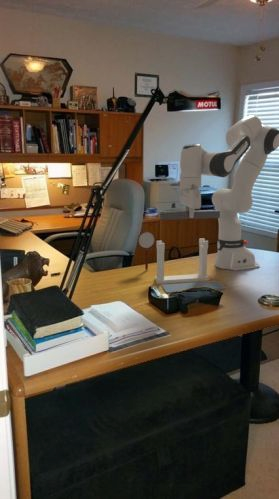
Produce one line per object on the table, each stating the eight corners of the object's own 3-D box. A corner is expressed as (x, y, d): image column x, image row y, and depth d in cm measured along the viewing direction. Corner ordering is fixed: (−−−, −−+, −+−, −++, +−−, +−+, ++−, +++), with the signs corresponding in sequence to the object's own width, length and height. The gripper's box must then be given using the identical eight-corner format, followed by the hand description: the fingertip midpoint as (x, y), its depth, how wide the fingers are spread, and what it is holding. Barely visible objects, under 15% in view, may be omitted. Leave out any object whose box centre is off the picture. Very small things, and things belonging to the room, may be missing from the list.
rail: (217, 216, 175) (217, 210, 175) (219, 217, 173) (220, 211, 172) (158, 218, 171) (158, 211, 171) (160, 219, 169) (160, 212, 168)
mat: (217, 282, 182) (217, 280, 182) (225, 289, 173) (225, 288, 173) (161, 285, 178) (161, 284, 178) (166, 293, 168) (166, 292, 168)
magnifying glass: (154, 269, 202) (154, 230, 198) (155, 270, 201) (155, 231, 196) (137, 271, 201) (137, 231, 196) (138, 271, 199) (138, 232, 194)
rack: (204, 276, 190) (205, 238, 186) (208, 280, 185) (210, 241, 180) (154, 279, 186) (154, 240, 182) (157, 283, 181) (157, 243, 176)
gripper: (205, 185, 159) (204, 220, 162) (190, 182, 179) (190, 213, 182) (190, 186, 158) (189, 221, 161) (177, 182, 178) (176, 213, 181)
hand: (189, 216), depth 172 cm, fingers closed on rail, 3 cm apart
